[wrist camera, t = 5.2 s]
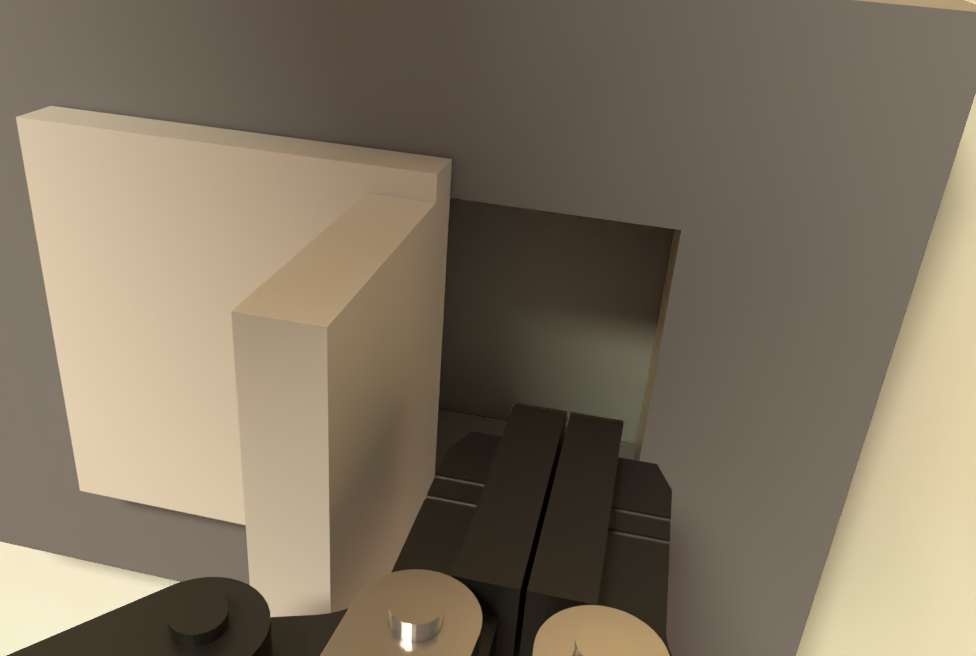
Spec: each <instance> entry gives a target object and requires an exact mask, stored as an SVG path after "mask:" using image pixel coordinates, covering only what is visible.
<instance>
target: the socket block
mask: <svg viewBox="0 0 976 656" xmlns="http://www.w3.org/2000/svg"><path fill="white" fill-rule="evenodd" d="M975 93H976V5H975V4H972V3H969V2H967V1H964V0H0V541H1V542H5V543H10V544H14V545H19V546H23V547H28V548H32V549H37V550H41V551H46V552H50V553H55V554H59V555H64V556H68V557H73V558H77V559H82V560H86V561H91V562H95V563H100V564H104V565H109V566H113V567H118V568H122V569H127V570H131V571H136V572H140V573H145V574H149V575H154V576H158V577H163V578H167V579H172V580H176V581H181V582H183V581H186V580H191V579H195V578H202V577H224V578H231V579H235V580H239V581H242V582H244V583H246V584H248V585H250V582H249V567H248V552H247V537H246V525H242V524H237V523H232V522H228V521H223V520H218V519H213V518H208V517H204V516H199V515H194V514H189V513H184V512H180V511H175V510H170V509H165V508H160V507H156V506H151V505H146V504H141V503H137V502H132V501H127V500H122V499H117V498H113V497H108V496H103V495H98V494H93V493H89V492H84V491H80V488H79V482H78V476H77V470H76V464H75V459H74V453H73V447H72V441H71V435H70V430H69V424H68V418H67V412H66V406H65V400H64V395H63V389H62V383H61V377H60V371H59V366H58V360H57V354H56V348H55V342H54V337H53V331H52V325H51V319H50V313H49V307H48V302H47V296H46V290H45V284H44V278H43V273H42V267H41V261H40V255H39V249H38V244H37V238H36V232H35V226H34V220H33V214H32V209H31V203H30V197H29V191H28V185H27V180H26V174H25V168H24V162H23V156H22V151H21V145H20V139H19V133H18V127H17V121H16V117H17V116H20V115H24V114H27V113H30V112H33V111H36V110H39V109H43V108H46V107H49V106H57V107H64V108H72V109H79V110H87V111H94V112H102V113H110V114H117V115H125V116H132V117H140V118H147V119H155V120H162V121H170V122H177V123H185V124H193V125H200V126H208V127H215V128H223V129H230V130H238V131H245V132H253V133H260V134H268V135H276V136H283V137H291V138H298V139H306V140H313V141H321V142H328V143H336V144H343V145H351V146H358V147H366V148H374V149H381V150H389V151H396V152H404V153H411V154H419V155H426V156H434V157H441V158H449V159H452V169H451V187H450V198H454V199H462V200H469V201H476V202H483V203H490V204H497V205H505V206H512V207H519V208H526V209H533V210H540V211H547V212H555V213H562V214H569V215H576V216H583V217H590V218H597V219H605V220H612V221H619V222H626V223H633V224H640V225H648V226H655V227H662V228H669V229H674V234H673V239H672V245H671V251H670V256H669V262H668V267H667V273H666V279H665V284H664V290H663V295H662V301H661V307H660V312H659V318H658V323H657V329H656V335H655V340H654V346H653V351H652V357H651V363H650V368H649V374H648V379H647V385H646V391H645V396H644V402H643V407H642V413H641V419H640V424H639V430H638V435H637V441H636V444H632V443H626V442H620V449H619V456H618V457H620V458H626V459H632V460H637V461H643V462H648V463H654V464H657V465H658V466H659V468H660V470H661V472H662V473H663V475H664V477H665V479H666V481H667V482H668V484H669V486H670V488H671V489H672V503H671V520H670V523H671V527H670V542H669V546H670V551H669V575H668V598H667V622H666V635H667V642H668V646H669V650H670V652H671V654H672V656H796V653H797V649H798V646H799V643H800V640H801V637H802V634H803V631H804V628H805V624H806V621H807V618H808V615H809V612H810V609H811V606H812V603H813V599H814V596H815V593H816V590H817V587H818V584H819V581H820V578H821V574H822V571H823V568H824V565H825V562H826V559H827V556H828V553H829V549H830V546H831V543H832V540H833V537H834V534H835V531H836V528H837V524H838V521H839V518H840V515H841V512H842V509H843V506H844V503H845V499H846V496H847V493H848V490H849V487H850V484H851V481H852V478H853V474H854V471H855V468H856V465H857V462H858V459H859V456H860V453H861V449H862V446H863V443H864V440H865V437H866V434H867V431H868V428H869V424H870V421H871V418H872V415H873V412H874V409H875V406H876V403H877V399H878V396H879V393H880V390H881V387H882V384H883V381H884V378H885V374H886V371H887V368H888V365H889V362H890V359H891V356H892V353H893V349H894V346H895V343H896V340H897V337H898V334H899V331H900V328H901V324H902V321H903V318H904V315H905V312H906V309H907V306H908V303H909V299H910V296H911V293H912V290H913V287H914V284H915V281H916V278H917V274H918V271H919V268H920V265H921V262H922V259H923V256H924V253H925V249H926V246H927V243H928V240H929V237H930V234H931V231H932V228H933V224H934V221H935V218H936V215H937V212H938V209H939V206H940V203H941V199H942V196H943V193H944V190H945V187H946V184H947V181H948V178H949V174H950V171H951V168H952V165H953V162H954V159H955V156H956V153H957V149H958V146H959V143H960V140H961V137H962V134H963V131H964V128H965V124H966V121H967V118H968V115H969V112H970V109H971V106H972V103H973V99H974V96H975ZM507 422H508V421H504V420H498V419H493V418H487V417H482V416H476V415H470V414H465V413H459V412H454V411H448V410H443V409H438V425H437V443H436V462H435V478H436V473H437V471H438V469H439V466H440V464H441V462H442V460H443V458H444V455H445V453H446V451H447V449H449V448H450V447H451V446H453V445H454V444H455V443H457V442H458V441H459V440H461V439H462V438H463V437H465V436H466V435H467V434H468V433H470V432H471V431H473V432H478V433H484V434H490V435H495V436H501V437H502V436H503V433H504V430H505V428H506V425H507ZM565 434H566V432H565Z"/></svg>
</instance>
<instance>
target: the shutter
mask: <svg viewBox="0 0 976 656" xmlns="http://www.w3.org/2000/svg"><path fill="white" fill-rule="evenodd" d="M16 121H17V127H18V133H19V139H20V145H21V151H22V156H23V162H24V168H25V174H26V180H27V185H28V191H29V197H30V203H31V209H32V214H33V220H34V226H35V232H36V238H37V244H38V249H39V255H40V261H41V267H42V273H43V278H44V284H45V290H46V296H47V302H48V307H49V313H50V319H51V325H52V331H53V337H54V342H55V348H56V354H57V360H58V366H59V371H60V377H61V383H62V389H63V395H64V400H65V406H66V412H67V418H68V424H69V430H70V435H71V441H72V447H73V453H74V459H75V464H76V470H77V476H78V482H79V488H80V491H84V492H89V493H93V494H98V495H103V496H108V497H113V498H117V499H122V500H127V501H132V502H137V503H141V504H146V505H151V506H156V507H160V508H165V509H170V510H175V511H180V512H184V513H189V514H194V515H199V516H204V517H208V518H213V519H218V520H223V521H228V522H232V523H237V524H242V525H246V537H247V552H248V567H249V582H250V586H252V587H253V588H255V589H256V590H257V591H258V592H259V593H260V594H261V595H262V596H263V597H264V599H265V600H266V602H267V603H268V607H269V610H270V617H283V616H303V615H319V614H328V613H332V612H337V611H341V610H344V609H347V608H349V607H350V605H351V604H352V602H353V600H354V599H355V597H356V596H357V595H358V593H359V592H360V591H361V590H362V589H363V588H364V587H365V586H366V585H368V584H369V583H371V582H372V581H374V580H375V579H377V578H379V577H381V576H384V575H386V574H389V573H391V572H392V570H393V567H394V565H395V563H396V561H397V559H398V556H399V554H400V552H401V550H402V548H403V545H404V543H405V541H406V539H407V537H408V534H409V532H410V530H411V528H412V526H413V523H414V521H415V519H416V517H417V515H418V512H419V510H420V508H421V506H422V504H423V501H424V499H426V497H427V493H428V490H429V488H430V486H431V484H432V482H433V480H434V479H435V462H436V443H437V425H438V407H439V388H440V370H441V352H442V333H443V315H444V297H445V278H446V260H447V242H448V224H449V205H450V187H451V169H452V159H449V158H441V157H434V156H426V155H419V154H411V153H404V152H396V151H389V150H381V149H374V148H366V147H358V146H351V145H343V144H336V143H328V142H321V141H313V140H306V139H298V138H291V137H283V136H276V135H268V134H260V133H253V132H245V131H238V130H230V129H223V128H215V127H208V126H200V125H193V124H185V123H177V122H170V121H162V120H155V119H147V118H140V117H132V116H125V115H117V114H110V113H102V112H94V111H87V110H79V109H72V108H64V107H57V106H49V107H46V108H43V109H39V110H36V111H33V112H30V113H27V114H24V115H20V116H17V117H16Z"/></svg>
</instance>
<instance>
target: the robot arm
mask: <svg viewBox="0 0 976 656" xmlns="http://www.w3.org/2000/svg"><path fill="white" fill-rule="evenodd" d="M566 422H567V411H562V410H556V409H550V408H544V407H539V406H533V405H527V404H521V403H515V404H514V406H513V408H512V411H511V414H510V417H509V419H508V422H507V425H506V428H505V430H504V433H503V436H502V437H501V436H495V435H490V434H484V433H478V432H473V431H471V432H470V433H468V434H467V435H466V436H465V437H463V438H462V439H461V440H459V441H458V442H457V443H455V444H454V445H453V446H451V447H450V448H449V449H447V451H446V453H445V455H444V458H443V460H442V462H441V464H440V466H439V469H438V471H437V473H436V478H435V479H434V480H433V482H432V484H431V486H430V488H429V490H428V493H427V497H426V499H424V501H423V504H422V506H421V508H420V510H419V512H418V515H417V517H416V519H415V521H414V523H413V526H412V528H411V530H410V532H409V534H408V537H407V539H406V541H405V543H404V545H403V548H402V550H401V552H400V554H399V556H398V559H397V561H396V563H395V565H394V567H393V570H392V572H391V573H389V574H386V575H384V576H381V577H379V578H377V579H375V580H374V581H372V582H371V583H369V584H368V585H366V586H365V587H364V588H363V589H362V590H361V591H360V592H359V593H358V595H357V596H356V597H355V599H354V600H353V602H352V604H351V605H350V607H349V608H347V609H344V610H341V611H337V612H332V613H328V614H319V615H303V616H283V617H270V610H269V607H268V603H267V602H266V600H265V599H264V597H263V596H262V595H261V594H260V593H259V592H258V591H257V590H256V589H255V588H253V587H252V586H250V585H248V584H246V583H244V582H242V581H239V580H235V579H231V578H224V577H202V578H195V579H191V580H186V581H183V582H180V583H177V584H174V585H172V586H169V587H167V588H165V589H162V590H160V591H157V592H155V593H153V594H150V595H148V596H146V597H143V598H141V599H139V600H136V601H134V602H132V603H129V604H127V605H125V606H122V607H120V608H117V609H115V610H113V611H110V612H108V613H106V614H103V615H101V616H99V617H96V618H94V619H92V620H89V621H87V622H85V623H82V624H80V625H78V626H75V627H73V628H70V629H68V630H66V631H63V632H61V633H59V634H56V635H54V636H52V637H49V638H47V639H45V640H42V641H40V642H38V643H35V644H33V645H30V646H28V647H26V648H23V649H21V650H19V651H16V652H14V653H12V654H9V655H7V656H672V654H671V652H670V650H669V646H668V642H667V635H666V622H667V598H668V575H669V551H670V546H669V542H670V527H671V523H670V520H671V503H672V489H671V488H670V486H669V484H668V482H667V481H666V479H665V477H664V475H663V473H662V472H661V470H660V468H659V466H658V465H657V464H654V463H648V462H643V461H637V460H632V459H626V458H620V457H618V456H619V449H620V442H621V435H622V428H623V421H622V420H616V419H610V418H604V417H598V416H592V415H586V414H581V413H575V412H571V414H570V418H569V422H568V426H567V430H566ZM565 430H566V434H565Z"/></svg>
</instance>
